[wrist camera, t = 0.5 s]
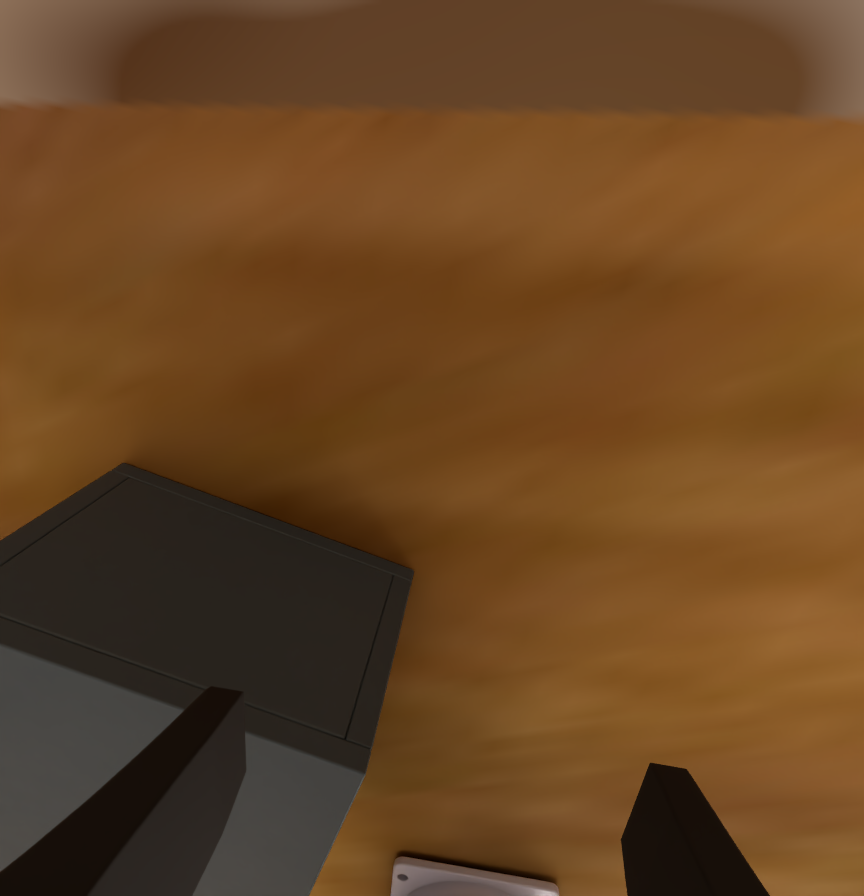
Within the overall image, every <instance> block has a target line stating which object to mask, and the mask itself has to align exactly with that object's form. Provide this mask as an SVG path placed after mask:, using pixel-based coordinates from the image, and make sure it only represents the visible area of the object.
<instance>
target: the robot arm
mask: <svg viewBox="0 0 864 896" xmlns="http://www.w3.org/2000/svg"><path fill="white" fill-rule="evenodd" d="M245 773H246V743H245V714H244V692H243V691H237V690H231V689H226V688H220V687H214V686H210V687H209V688H207V689H206V690H205V691H204V692H203V693H202V694H200V695H199V696H198V697H197V698H196V699H195V700H194V701H193V702H192V703H191V704H190V705H189V706H188V707H187V708H186V709H185V710H184V711H183V712H182V713H181V714H180V715H179V716H178V717H177V718H176V719H175V720H174V721H173V722H172V723H171V724H170V725H169V726H167V727H166V728H165V729H164V730H163V731H162V732H161V733H160V734H159V735H158V736H157V737H156V738H155V739H154V740H153V741H152V742H151V743H149V744H148V745H147V746H146V747H145V748H144V749H143V750H142V751H141V752H140V753H139V754H138V755H137V756H136V757H134V758H133V759H132V760H131V761H130V762H129V763H128V764H127V765H126V766H124V767H123V768H122V769H121V770H120V771H119V772H118V773H117V774H116V775H114V776H113V777H112V778H111V779H110V780H109V781H108V782H107V783H106V784H104V785H103V786H102V787H101V788H100V789H99V790H98V791H97V792H96V793H94V794H93V795H92V796H91V797H90V798H89V799H88V800H86V801H85V802H84V803H83V804H82V805H81V806H79V807H78V808H77V809H76V810H75V811H74V812H72V813H71V814H70V815H69V816H68V817H66V818H65V819H64V820H63V821H62V822H60V823H59V824H58V825H57V826H56V827H54V828H53V829H52V830H51V831H50V832H48V833H47V834H46V835H45V836H44V837H42V838H41V839H40V840H39V841H38V842H37V843H35V844H34V845H33V846H32V847H31V848H29V849H28V850H27V851H26V852H24V853H23V854H22V855H21V856H19V857H18V858H17V859H16V860H14V861H13V862H12V863H11V864H9V865H8V866H7V867H6V868H4V869H3V870H2V871H1V872H0V896H193V894H194V892H195V890H196V888H197V885H198V883H199V881H200V879H201V877H202V875H203V873H204V871H205V869H206V867H207V865H208V863H209V861H210V859H211V857H212V855H213V853H214V851H215V849H216V846H217V844H218V842H219V840H220V838H221V836H222V834H223V831H224V829H225V826H226V824H227V821H228V818H229V816H230V813H231V811H232V808H233V806H234V803H235V800H236V797H237V795H238V792H239V789H240V787H241V784H242V781H243V779H244V776H245ZM621 843H622V852H623V861H624V870H625V879H626V887H627V895H628V896H770V895H769V894H768V892H767V891H766V889H765V888H764V886H763V885H762V883H761V882H760V880H759V879H758V877H757V876H756V874H755V873H754V871H753V870H752V868H751V867H750V865H749V864H748V862H747V861H746V859H745V858H744V856H743V855H742V853H741V852H740V850H739V849H738V847H737V846H736V844H735V843H734V841H733V840H732V838H731V836H730V835H729V833H728V832H727V830H726V829H725V827H724V826H723V824H722V823H721V821H720V820H719V818H718V816H717V815H716V813H715V812H714V810H713V809H712V807H711V806H710V804H709V802H708V801H707V799H706V798H705V796H704V795H703V793H702V792H701V790H700V788H699V787H698V785H697V784H696V782H695V781H694V779H693V778H692V776H691V775H690V773H689V772H688V771H687V769H684V768H678V767H672V766H666V765H661V764H655V763H650V764H649V767H648V769H647V772H646V775H645V777H644V780H643V783H642V785H641V788H640V791H639V793H638V796H637V799H636V801H635V804H634V806H633V809H632V812H631V814H630V817H629V820H628V822H627V825H626V828H625V830H624V833H623V836H622V838H621ZM391 896H559V888H558V887H557V885H555V884H554V883H552V882H547V881H542V880H536V879H530V878H524V877H519V876H513V875H507V874H502V873H496V872H490V871H484V870H479V869H473V868H467V867H462V866H456V865H450V864H445V863H439V862H433V861H427V860H422V859H416V858H410V857H403V856H401V857H398V858H396V859H395V861H394V866H393V876H392V886H391Z"/></svg>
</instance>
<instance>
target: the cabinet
mask: <svg viewBox="0 0 864 896" xmlns="http://www.w3.org/2000/svg"><path fill="white" fill-rule="evenodd" d="M413 575H414V570H412V569H409V568H406V567H404V566H401V565H398V564H396V563H393V562H390V561H388V560H385V559H382V558H379V557H377V556H374V555H371V554H369V553H366V552H363V551H361V550H358V549H355V548H352V547H350V546H347V545H344V544H342V543H339V542H336V541H334V540H331V539H328V538H325V537H323V536H320V535H317V534H315V533H312V532H309V531H307V530H304V529H301V528H298V527H296V526H293V525H290V524H288V523H285V522H282V521H280V520H277V519H274V518H271V517H269V516H266V515H263V514H261V513H258V512H255V511H253V510H250V509H247V508H244V507H242V506H239V505H236V504H234V503H231V502H228V501H226V500H223V499H220V498H217V497H215V496H212V495H209V494H207V493H204V492H201V491H199V490H196V489H193V488H190V487H188V486H185V485H182V484H180V483H177V482H174V481H172V480H169V479H166V478H163V477H161V476H158V475H155V474H153V473H150V472H147V471H145V470H142V469H139V468H136V467H134V466H131V465H128V464H126V463H122V464H120V465H119V466H117V467H116V468H114V469H112V471H109V472H108V473H106V474H105V475H103V476H101V477H100V478H98V479H97V480H95V481H94V482H92V483H90V484H89V485H87V486H86V487H84V488H83V489H81V490H79V491H78V492H76V493H75V494H73V495H71V496H70V497H68V498H67V499H65V500H64V501H62V502H60V503H59V504H57V505H56V506H54V507H53V508H51V509H49V510H48V511H46V512H45V513H43V514H42V515H40V516H38V517H37V518H35V519H34V520H32V521H31V522H29V523H27V524H26V525H24V526H23V527H21V528H20V529H18V530H16V531H15V532H13V533H12V534H10V535H9V536H7V537H5V538H4V539H2V540H1V541H0V872H1V871H2V870H3V869H4V868H6V867H7V866H8V865H9V864H11V863H12V862H13V861H14V860H16V859H17V858H18V857H19V856H21V855H22V854H23V853H24V852H26V851H27V850H28V849H29V848H31V847H32V846H33V845H34V844H35V843H37V842H38V841H39V840H40V839H41V838H42V837H44V836H45V835H46V834H47V833H48V832H50V831H51V830H52V829H53V828H54V827H56V826H57V825H58V824H59V823H60V822H62V821H63V820H64V819H65V818H66V817H68V816H69V815H70V814H71V813H72V812H74V811H75V810H76V809H77V808H78V807H79V806H81V805H82V804H83V803H84V802H85V801H86V800H88V799H89V798H90V797H91V796H92V795H93V794H94V793H96V792H97V791H98V790H99V789H100V788H101V787H102V786H103V785H104V784H106V783H107V782H108V781H109V780H110V779H111V778H112V777H113V776H114V775H116V774H117V773H118V772H119V771H120V770H121V769H122V768H123V767H124V766H126V765H127V764H128V763H129V762H130V761H131V760H132V759H133V758H134V757H136V756H137V755H138V754H139V753H140V752H141V751H142V750H143V749H144V748H145V747H146V746H147V745H148V744H149V743H151V742H152V741H153V740H154V739H155V738H156V737H157V736H158V735H159V734H160V733H161V732H162V731H163V730H164V729H165V728H166V727H167V726H169V725H170V724H171V723H172V722H173V721H174V720H175V719H176V718H177V717H178V716H179V715H180V714H181V713H182V712H183V711H184V710H185V709H186V708H187V707H188V706H189V705H190V704H191V703H192V702H193V701H194V700H195V699H196V698H197V697H198V696H199V695H200V694H202V693H203V692H204V691H205V690H206V689H207V688H209V687H210V686H214V687H220V688H226V689H231V690H237V691H243V692H244V714H245V743H246V773H245V776H244V779H243V781H242V784H241V787H240V789H239V792H238V795H237V797H236V800H235V803H234V806H233V808H232V811H231V813H230V816H229V818H228V821H227V824H226V826H225V829H224V831H223V834H222V836H221V838H220V840H219V842H218V844H217V846H216V849H215V851H214V853H213V855H212V857H211V859H210V861H209V863H208V865H207V867H206V869H205V871H204V873H203V875H202V877H201V879H200V881H199V883H198V885H197V888H196V890H195V892H194V894H193V896H309V894H310V892H311V890H312V888H313V886H314V884H315V882H316V879H317V877H318V875H319V873H320V871H321V869H322V867H323V865H324V862H325V860H326V858H327V856H328V854H329V852H330V850H331V847H332V845H333V843H334V841H335V839H336V837H337V835H338V833H339V830H340V828H341V826H342V824H343V822H344V820H345V818H346V816H347V813H348V811H349V809H350V807H351V805H352V803H353V801H354V798H355V796H356V794H357V792H358V790H359V788H360V786H361V784H362V781H363V779H364V777H365V775H366V771H367V767H368V763H369V759H370V755H371V749H372V747H373V742H374V738H375V734H376V730H377V726H378V721H379V717H380V713H381V709H382V705H383V700H384V696H385V692H386V688H387V684H388V680H389V675H390V671H391V667H392V663H393V659H394V654H395V650H396V646H397V642H398V638H399V633H400V629H401V625H402V621H403V617H404V613H405V608H406V604H407V600H408V596H409V592H410V587H411V582H412V579H413Z"/></svg>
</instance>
